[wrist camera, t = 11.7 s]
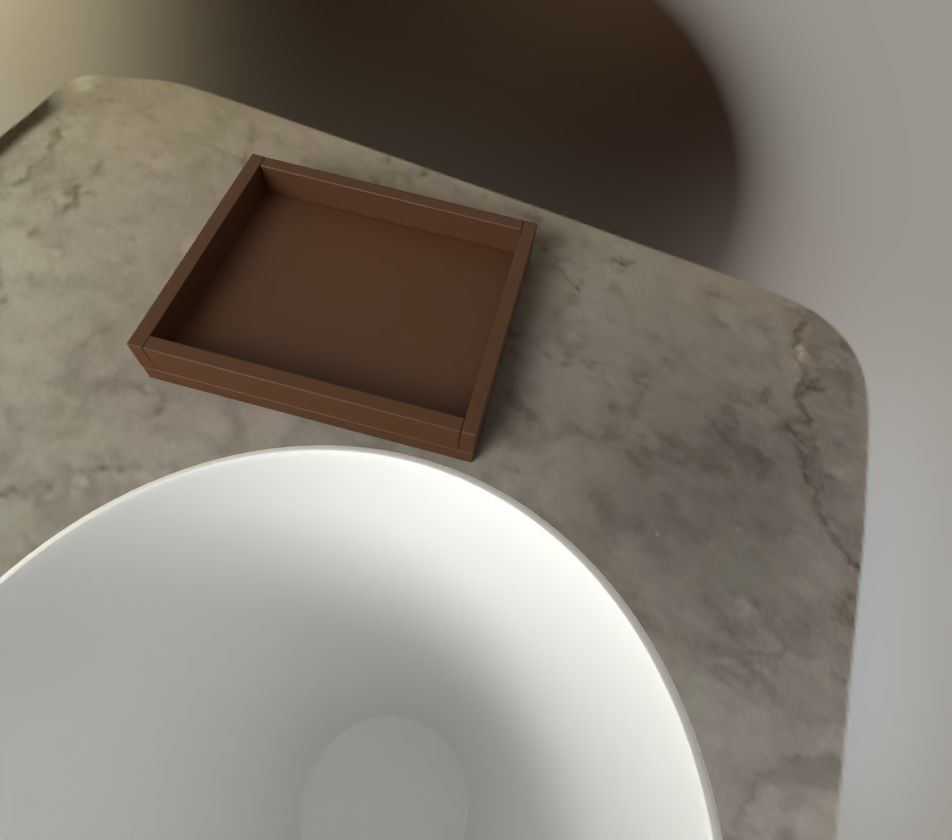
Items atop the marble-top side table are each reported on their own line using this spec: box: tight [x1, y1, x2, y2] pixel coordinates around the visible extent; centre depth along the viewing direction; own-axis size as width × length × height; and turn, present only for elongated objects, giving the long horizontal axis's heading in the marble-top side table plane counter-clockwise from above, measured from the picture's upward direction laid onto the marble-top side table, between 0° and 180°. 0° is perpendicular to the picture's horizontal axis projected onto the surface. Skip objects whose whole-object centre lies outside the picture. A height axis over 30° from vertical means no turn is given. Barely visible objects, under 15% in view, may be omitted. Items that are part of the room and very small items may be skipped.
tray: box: [127, 154, 537, 462], centre depth 34 cm, size 18×15×3 cm
